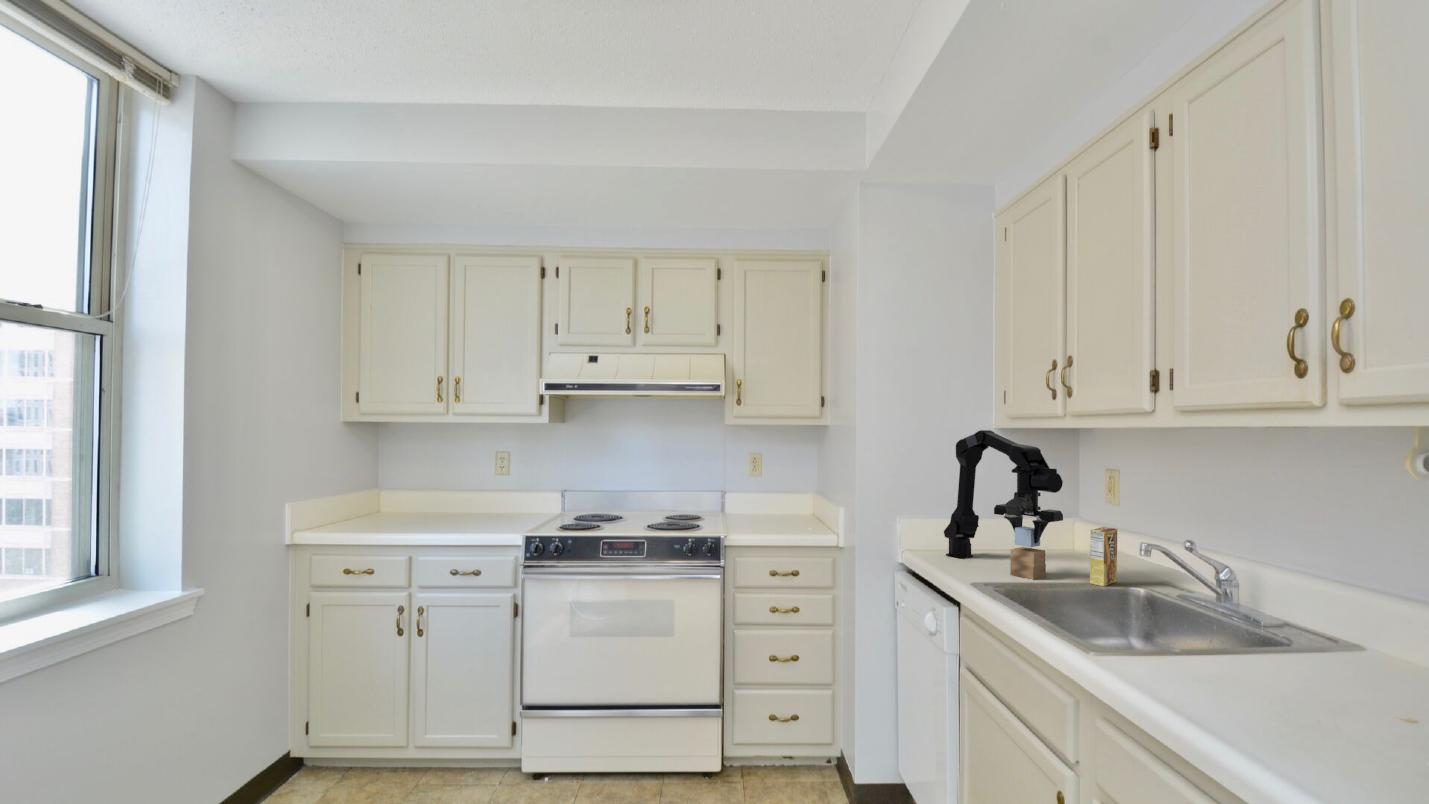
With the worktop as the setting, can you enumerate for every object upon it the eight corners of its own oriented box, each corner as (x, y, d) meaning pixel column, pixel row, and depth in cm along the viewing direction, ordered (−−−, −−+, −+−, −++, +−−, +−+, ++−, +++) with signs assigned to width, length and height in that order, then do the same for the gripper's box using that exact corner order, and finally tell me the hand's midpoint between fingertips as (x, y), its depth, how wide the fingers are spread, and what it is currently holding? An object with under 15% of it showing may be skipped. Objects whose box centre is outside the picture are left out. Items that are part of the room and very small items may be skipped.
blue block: (1014, 544, 205) (1014, 527, 205) (1024, 542, 208) (1024, 526, 208) (1030, 547, 201) (1030, 530, 201) (1040, 545, 204) (1040, 528, 204)
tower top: (1010, 562, 205) (1010, 549, 205) (1022, 560, 209) (1022, 546, 209) (1033, 566, 199) (1033, 553, 199) (1045, 563, 204) (1045, 550, 204)
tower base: (1010, 576, 205) (1010, 562, 205) (1023, 573, 209) (1023, 560, 209) (1033, 580, 199) (1033, 567, 199) (1045, 577, 203) (1045, 564, 203)
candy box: (1102, 579, 201) (1102, 526, 201) (1118, 582, 197) (1117, 528, 198) (1089, 583, 195) (1089, 529, 195) (1105, 586, 192) (1105, 531, 192)
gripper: (983, 487, 208) (983, 539, 207) (1043, 493, 192) (1043, 549, 192) (1004, 485, 214) (1004, 536, 214) (1064, 491, 199) (1064, 545, 199)
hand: (1027, 541), depth 204 cm, fingers closed on blue block, 5 cm apart
